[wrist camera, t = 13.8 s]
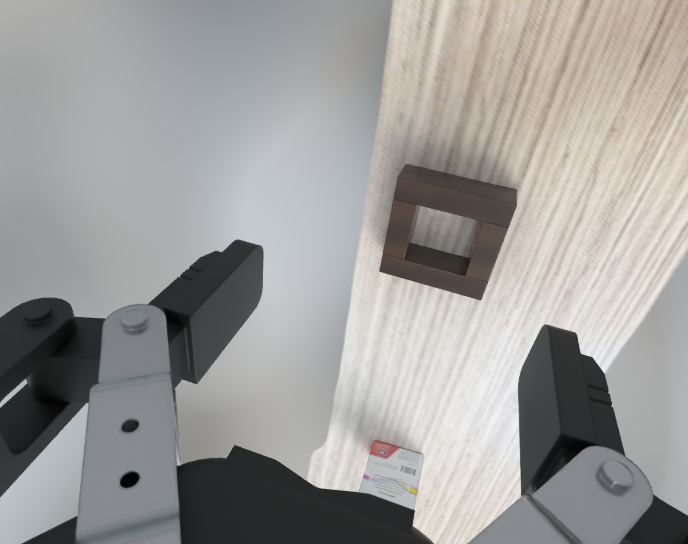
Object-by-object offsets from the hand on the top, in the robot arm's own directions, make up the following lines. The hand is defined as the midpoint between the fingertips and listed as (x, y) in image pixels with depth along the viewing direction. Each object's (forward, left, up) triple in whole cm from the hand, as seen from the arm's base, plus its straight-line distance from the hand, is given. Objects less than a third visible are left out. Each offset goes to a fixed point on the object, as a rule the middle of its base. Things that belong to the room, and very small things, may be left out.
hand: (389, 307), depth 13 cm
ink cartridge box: (+56, +19, -37) cm, 70 cm away
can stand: (+15, +5, -37) cm, 40 cm away
